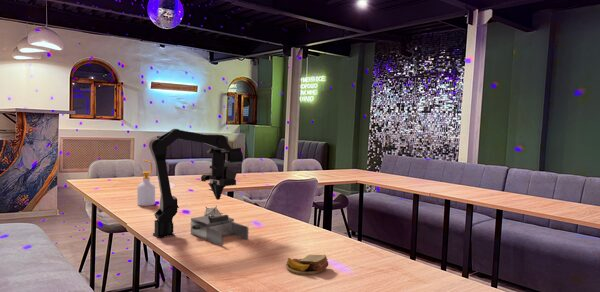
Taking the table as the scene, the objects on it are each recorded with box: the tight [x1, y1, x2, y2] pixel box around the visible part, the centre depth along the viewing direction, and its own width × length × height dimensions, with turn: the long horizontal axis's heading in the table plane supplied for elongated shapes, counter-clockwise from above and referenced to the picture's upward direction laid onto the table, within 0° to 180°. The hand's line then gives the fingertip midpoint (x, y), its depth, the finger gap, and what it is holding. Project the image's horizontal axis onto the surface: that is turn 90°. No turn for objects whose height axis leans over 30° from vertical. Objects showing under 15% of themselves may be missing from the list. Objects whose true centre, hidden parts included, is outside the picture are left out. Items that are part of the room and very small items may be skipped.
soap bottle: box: [136, 159, 156, 207], centre depth 228 cm, size 9×9×25 cm
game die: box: [203, 205, 224, 216], centre depth 189 cm, size 9×8×10 cm
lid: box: [190, 214, 235, 226], centre depth 173 cm, size 13×12×3 cm
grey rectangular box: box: [190, 220, 249, 247], centre depth 170 cm, size 17×22×5 cm
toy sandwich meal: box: [285, 254, 329, 276], centre depth 136 cm, size 12×14×5 cm
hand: (218, 199), depth 180 cm, fingers closed
